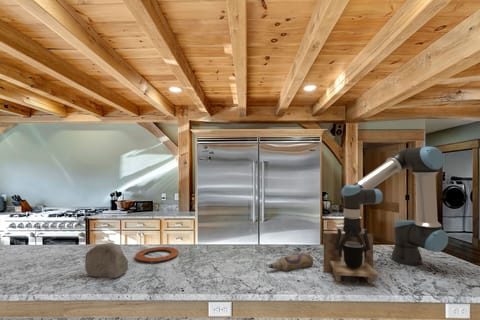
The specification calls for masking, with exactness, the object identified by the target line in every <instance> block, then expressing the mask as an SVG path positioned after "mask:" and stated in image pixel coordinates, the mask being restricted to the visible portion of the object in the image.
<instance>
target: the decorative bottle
mask: <svg viewBox="0 0 480 320" xmlns="http://www.w3.org/2000/svg"><path fill="white" fill-rule="evenodd" d="M313 265H314V258H313V256H312V255H311V253H309V252H306V253H301V254H295V255H293V254H292V255H289V256H283V257H280V258H279V260H277V261H275V262H272V263H269V264H268V269H274V270H282V271H284V272H285V271H291V270H296V269H301V268H306V267H311V266H313Z"/></svg>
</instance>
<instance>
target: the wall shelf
mask: <svg viewBox="0 0 480 320" xmlns="http://www.w3.org/2000/svg"><path fill="white" fill-rule="evenodd" d="M344 234H345V232H342V233H341V238H340V242H339V245H340V243H341V241H342V239H343V237H344ZM359 236H360V238H361V240H362V242H363V244H364V246H365V247H366V245H365V240H364V236H363V233H359ZM367 236H368V240H369V245H370V250H367V252H366V258H364V265H362V264H361V267H359V268H352V267H349V266H347V265H346V263H345V259H344V265H342V263H341V257H339V250H338V249H336V248H335V242H336V237H337V232H323V273H332V274H333V276H334V278H335V280H336V281H337V282H342V280H341V278H342V276H349V277H350V276H351V277H363V278H364V280H365V281H366V282H367V283H368V284H372V279H373V278H378V277H379V273H378V272H377V271H376V270H375V269H374V234H373V233H367ZM346 242H357V243H359V241H358V239H357V238H356V237H349V238H348V239H347V241H346Z"/></svg>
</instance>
